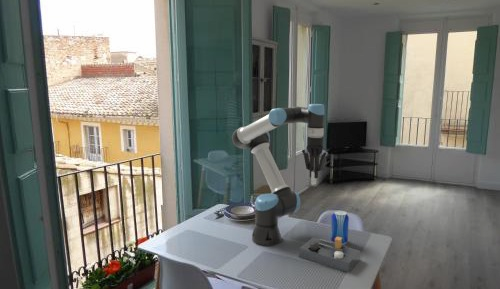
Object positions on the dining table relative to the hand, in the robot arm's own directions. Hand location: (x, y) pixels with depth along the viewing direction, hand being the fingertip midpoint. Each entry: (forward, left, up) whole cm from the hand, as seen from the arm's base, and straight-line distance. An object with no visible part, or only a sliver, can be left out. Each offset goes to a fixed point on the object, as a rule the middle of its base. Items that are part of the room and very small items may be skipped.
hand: (313, 184), depth 173 cm
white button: (+19, -11, -30) cm, 37 cm away
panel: (+13, -8, -32) cm, 35 cm away
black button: (+7, -11, -28) cm, 31 cm away
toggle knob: (+15, -4, -27) cm, 31 cm away
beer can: (+10, +11, -32) cm, 35 cm away
